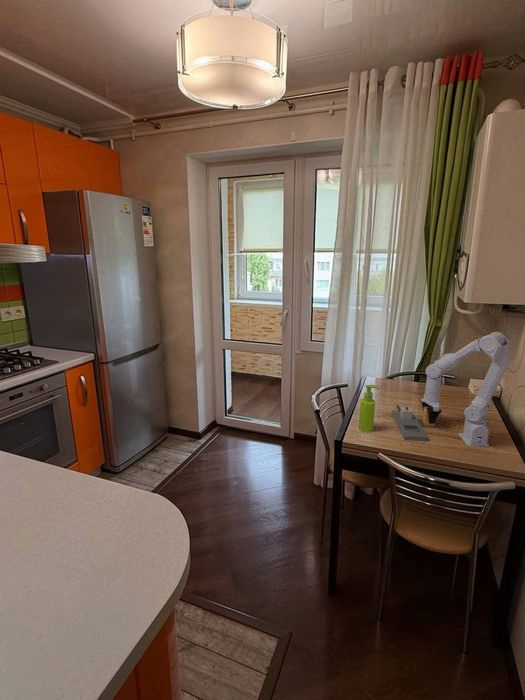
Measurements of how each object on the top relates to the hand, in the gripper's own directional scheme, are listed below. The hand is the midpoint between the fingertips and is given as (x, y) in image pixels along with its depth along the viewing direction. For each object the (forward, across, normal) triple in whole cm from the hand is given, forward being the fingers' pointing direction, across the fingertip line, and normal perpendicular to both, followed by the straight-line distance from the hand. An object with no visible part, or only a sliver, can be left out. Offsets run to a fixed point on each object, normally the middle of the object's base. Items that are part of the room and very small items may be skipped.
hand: (428, 419), depth 162 cm
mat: (+2, 0, 0) cm, 2 cm away
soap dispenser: (+2, +8, -28) cm, 29 cm away
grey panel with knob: (+2, 0, -10) cm, 10 cm away
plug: (+2, 0, 0) cm, 2 cm away
